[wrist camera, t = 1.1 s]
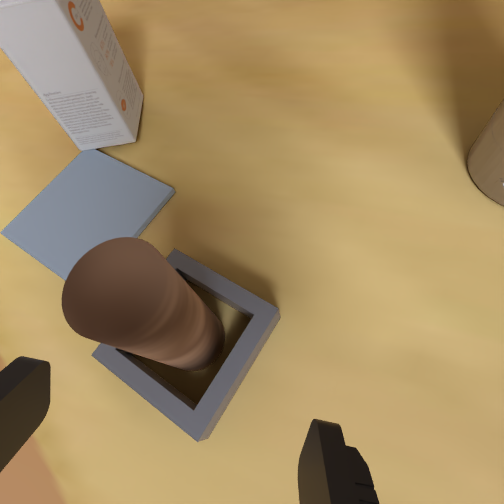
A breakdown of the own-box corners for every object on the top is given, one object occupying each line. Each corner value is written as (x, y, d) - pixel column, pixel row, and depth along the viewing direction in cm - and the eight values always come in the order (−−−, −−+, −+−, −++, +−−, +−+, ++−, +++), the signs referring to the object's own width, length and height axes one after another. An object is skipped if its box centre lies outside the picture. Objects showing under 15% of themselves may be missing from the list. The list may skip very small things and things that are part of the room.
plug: (189, 298, 26) (112, 221, 15) (236, 328, 24) (188, 266, 14) (153, 349, 24) (40, 303, 14) (200, 384, 23) (115, 363, 12)
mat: (91, 149, 35) (87, 145, 34) (175, 191, 31) (173, 188, 30) (5, 235, 31) (-1, 232, 30) (88, 296, 27) (83, 294, 26)
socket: (184, 261, 27) (174, 248, 25) (280, 317, 24) (278, 308, 22) (110, 360, 24) (91, 355, 22) (207, 438, 21) (197, 441, 19)
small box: (92, 105, 38) (6, -36, 27) (145, 96, 37) (78, -51, 26) (78, 153, 34) (-32, 10, 23) (137, 143, 33) (53, -8, 22)
